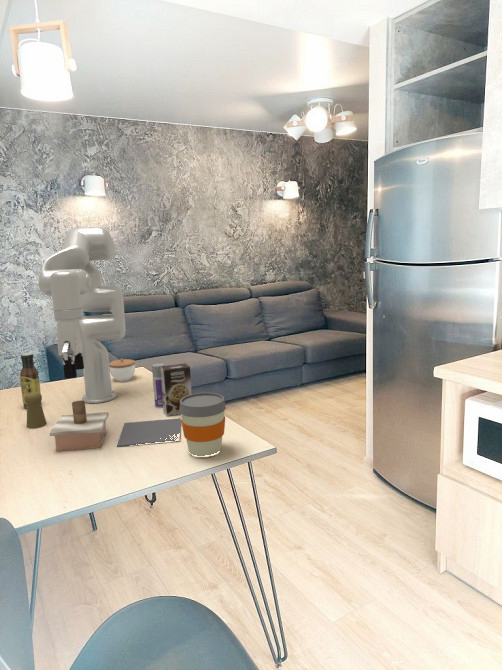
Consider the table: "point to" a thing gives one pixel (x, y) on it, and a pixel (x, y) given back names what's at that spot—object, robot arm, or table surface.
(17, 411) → the table surface
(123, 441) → the mat
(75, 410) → the lid
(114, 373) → the lidded jar
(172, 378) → the coffee box
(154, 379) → the container
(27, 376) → the sauce bottle
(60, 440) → the dish
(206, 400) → the reusable coffee cup
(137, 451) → the table surface
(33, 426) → the cork
